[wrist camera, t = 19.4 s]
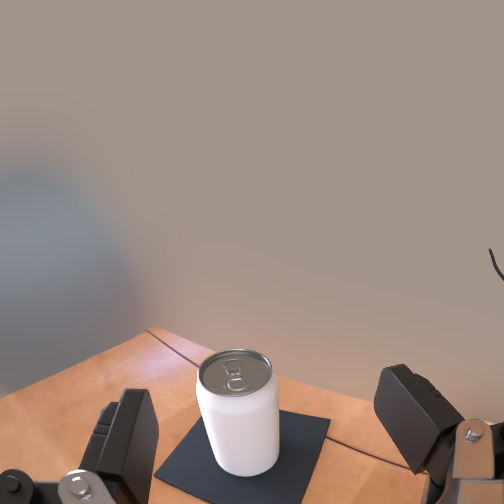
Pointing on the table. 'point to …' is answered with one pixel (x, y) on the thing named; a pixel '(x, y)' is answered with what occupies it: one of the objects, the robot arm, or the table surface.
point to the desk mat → (251, 487)
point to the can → (240, 410)
